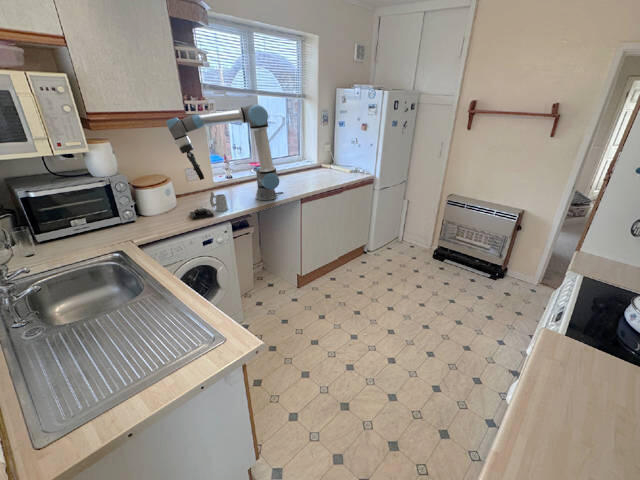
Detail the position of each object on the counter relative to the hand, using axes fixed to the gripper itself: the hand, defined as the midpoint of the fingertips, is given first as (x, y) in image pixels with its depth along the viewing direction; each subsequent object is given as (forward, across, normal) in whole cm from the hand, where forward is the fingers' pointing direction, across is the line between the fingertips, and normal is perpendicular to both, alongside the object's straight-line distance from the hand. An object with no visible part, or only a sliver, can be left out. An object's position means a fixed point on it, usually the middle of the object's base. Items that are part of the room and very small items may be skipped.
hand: (202, 178), depth 203 cm
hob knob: (+17, +8, -10) cm, 21 cm away
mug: (+23, -3, 0) cm, 23 cm away
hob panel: (+20, +7, -11) cm, 24 cm away
